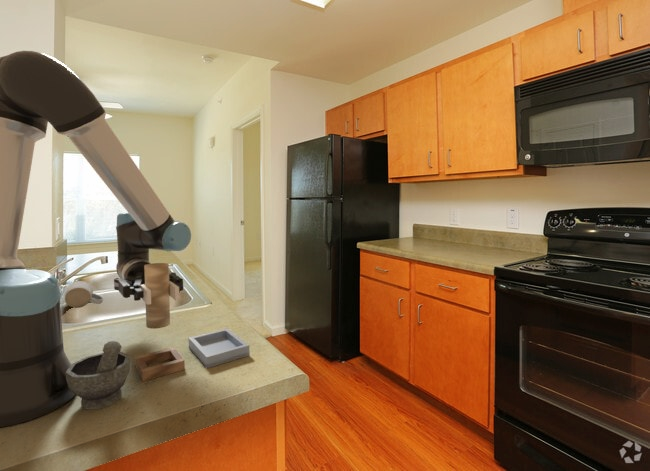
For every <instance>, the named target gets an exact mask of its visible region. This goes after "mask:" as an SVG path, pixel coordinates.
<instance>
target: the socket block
mask: <svg viewBox="0 0 650 471" xmlns="http://www.w3.org/2000/svg"><path fill="white" fill-rule="evenodd" d="M134 359H135V368H136V369H137V372H138V374H139V376H140V378H141V380H142V382H145V381H149V380H153V379H155V378H159V377H163V376H166V375H170V374H173V373H177V372H180V371H183V370H185V369H186V368H185V367H186V366H185V360H184V358H183V357H182V356H181V354H180V353H179V351H178V350H177V349H176V348H175V347H171V348H166V349H163V350H158V351H154V352H150V353H146V354H143V355H138V356H135V357H134ZM169 360H171V361H169ZM164 361H168V362H164ZM161 362H164V363H161ZM156 363H161V364H158V365H154V366H149V365H153V364H156ZM148 366H149V367H148Z"/></svg>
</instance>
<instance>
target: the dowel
mask: <svg viewBox="0 0 650 471" xmlns="http://www.w3.org/2000/svg"><path fill="white" fill-rule="evenodd" d="M144 270H145V286H147V287H148V288H149V289H150V290H151V304H149V305H147V304H146V303H145V327H146V329H147V328H148V329H161V328H165V327H168V326H170V325H171V314H170V313H171V310H170V305H171V304H170V302H171V301H170V295H169V274H170V273H169V272H170V271H169V270H170V266H169V263H165V262H156V263H151V264H147V265H144Z"/></svg>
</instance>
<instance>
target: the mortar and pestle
mask: <svg viewBox="0 0 650 471" xmlns="http://www.w3.org/2000/svg"><path fill="white" fill-rule="evenodd" d="M122 348H123V347H122V344H121V343H120V342H118V341H116V340H112V341H107V342H106V343H104V345H103V347H102V353H97V354H92V355H89V356H86V357H83V358H81V359H80V360H77V361H75V362H73V363H71V365H70V367H69V368H68V370H67V371H66V381H67V384H68V387H69V388H70V389H71V391H72V392H73V393H74V394H75V395H76V396H78V397H79V398H81V401H80V404H81V407H82V408H84V409H85V410H99V409H102V408H106V407H108V406H111V405H112V404H113V405H114V403H116V402H117V401H119V400H120V399H121V396H122V387H123V386H124V385H125V383H126V381H127V379H128V376H129V373H130V369H131V355H129V354H127V353H125V352H122V351H121V350H122Z"/></svg>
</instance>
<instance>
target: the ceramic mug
mask: <svg viewBox="0 0 650 471" xmlns="http://www.w3.org/2000/svg"><path fill="white" fill-rule="evenodd" d="M64 301H65V302H66V304H67V305H68V306H69V307H71V308H74V309H79V308H83V307H85V306H87V305H88V304H89V303H90V304H94V305H95V304H97V305H99V304H102V303H103V301H104V297H103V296H101V295H98V294H96V293H94V290H93V287H92V286H91V284H90V283H88V282H86V281H84V280H83V281H81V280H80V281H79V280H78V281H73V282H71V283H70V284H69V285H68V286H67V288H66V290H65V294H64Z"/></svg>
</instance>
